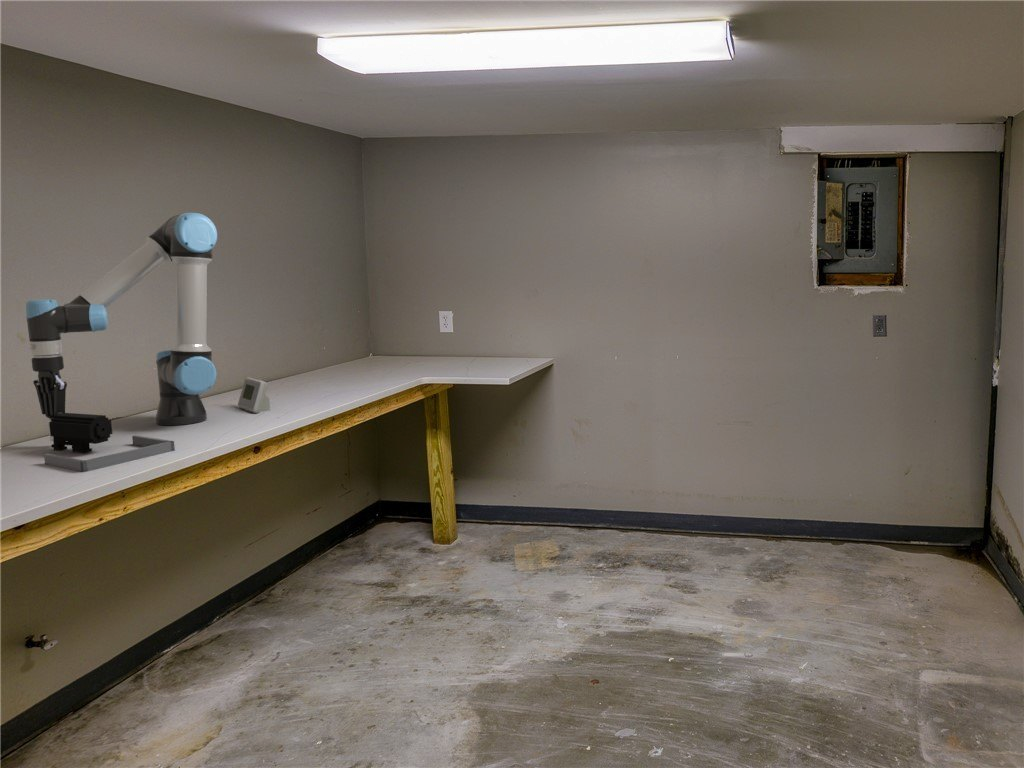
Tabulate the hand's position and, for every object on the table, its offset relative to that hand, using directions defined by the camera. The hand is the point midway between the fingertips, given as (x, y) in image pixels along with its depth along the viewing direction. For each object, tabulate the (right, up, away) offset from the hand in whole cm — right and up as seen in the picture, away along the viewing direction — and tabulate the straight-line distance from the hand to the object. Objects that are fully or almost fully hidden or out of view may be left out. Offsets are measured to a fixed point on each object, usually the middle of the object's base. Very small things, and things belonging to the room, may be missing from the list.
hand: (56, 440), depth 224 cm
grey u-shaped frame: (+22, -3, -13) cm, 26 cm away
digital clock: (+39, +6, +51) cm, 64 cm away
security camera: (+10, -3, -6) cm, 12 cm away
